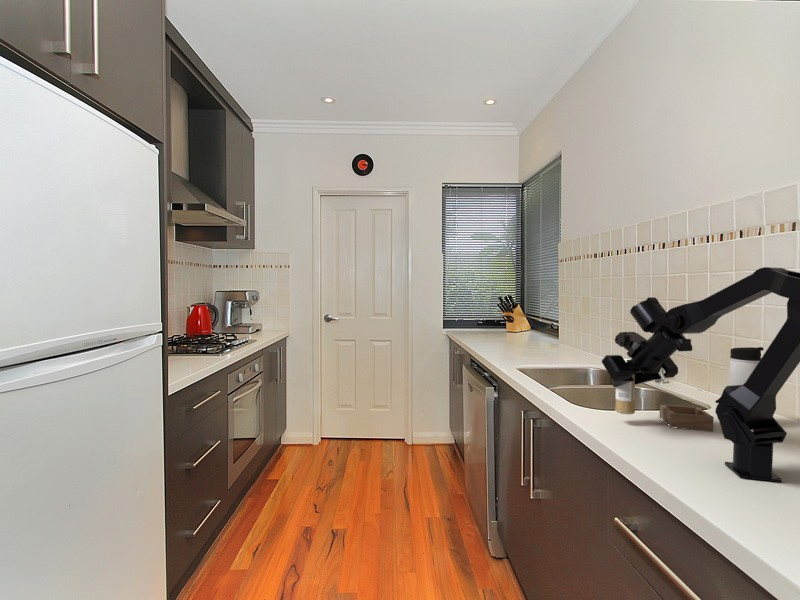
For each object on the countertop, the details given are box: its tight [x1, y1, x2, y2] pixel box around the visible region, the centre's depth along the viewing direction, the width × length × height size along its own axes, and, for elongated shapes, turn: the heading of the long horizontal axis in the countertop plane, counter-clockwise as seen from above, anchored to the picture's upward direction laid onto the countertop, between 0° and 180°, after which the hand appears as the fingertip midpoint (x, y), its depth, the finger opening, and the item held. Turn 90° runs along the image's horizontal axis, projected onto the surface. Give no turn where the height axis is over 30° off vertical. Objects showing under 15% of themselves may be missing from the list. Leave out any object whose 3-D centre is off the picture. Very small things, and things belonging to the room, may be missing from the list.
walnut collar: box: [659, 404, 714, 432], centre depth 110 cm, size 9×9×4 cm
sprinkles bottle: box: [614, 358, 636, 415], centre depth 110 cm, size 5×5×13 cm
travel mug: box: [728, 346, 764, 386], centre depth 111 cm, size 6×7×20 cm
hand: (620, 385), depth 111 cm, fingers closed on sprinkles bottle, 4 cm apart
